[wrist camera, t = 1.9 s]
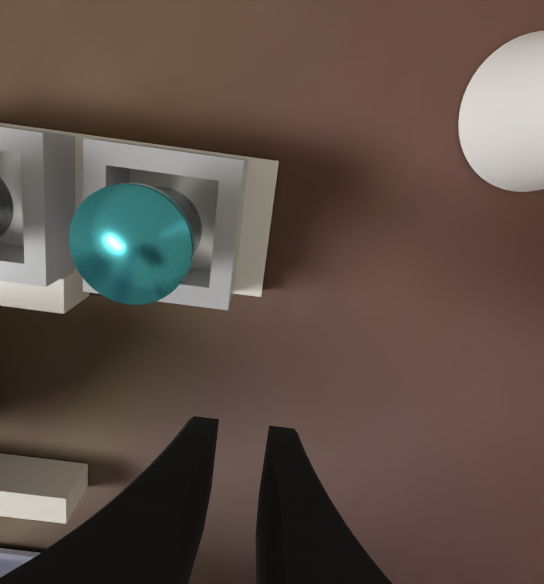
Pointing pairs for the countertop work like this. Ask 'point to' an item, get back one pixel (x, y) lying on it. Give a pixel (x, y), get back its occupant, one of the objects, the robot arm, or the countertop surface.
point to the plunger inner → (5, 208)
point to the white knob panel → (70, 284)
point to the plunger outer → (134, 241)
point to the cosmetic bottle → (507, 116)
